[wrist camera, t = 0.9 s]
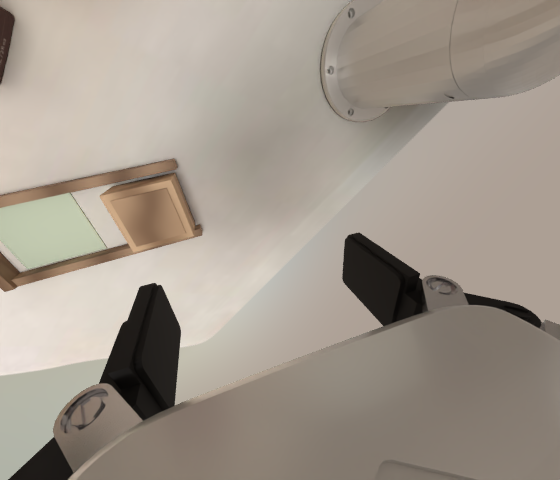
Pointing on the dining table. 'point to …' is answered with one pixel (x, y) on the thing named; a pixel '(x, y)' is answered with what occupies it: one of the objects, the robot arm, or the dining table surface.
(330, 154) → the dining table surface
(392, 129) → the dining table surface
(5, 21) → the box
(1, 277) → the bay
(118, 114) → the dining table surface
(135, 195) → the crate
